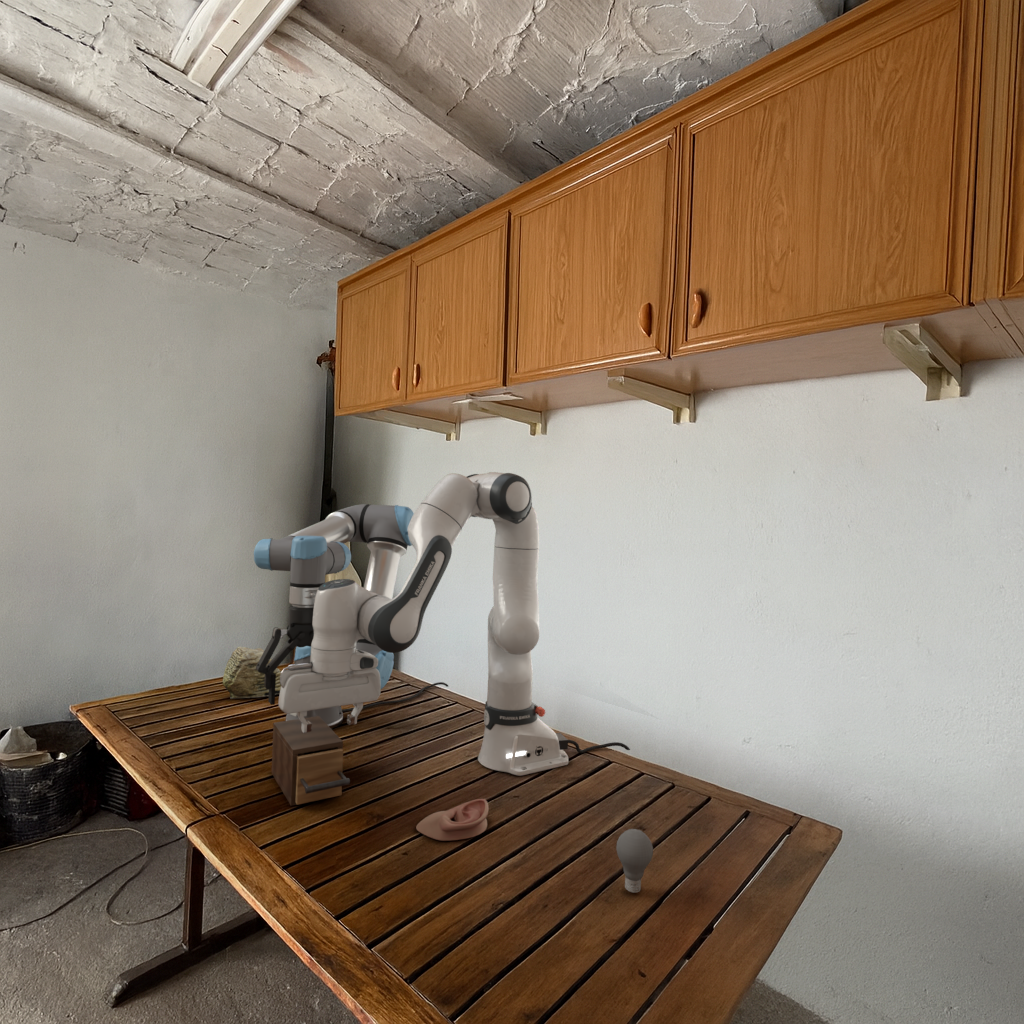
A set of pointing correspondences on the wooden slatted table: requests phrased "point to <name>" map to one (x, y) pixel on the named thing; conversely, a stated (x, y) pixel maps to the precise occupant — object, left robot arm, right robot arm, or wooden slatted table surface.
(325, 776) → the drawer
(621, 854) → the light bulb
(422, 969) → the wooden slatted table surface
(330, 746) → the cabinet
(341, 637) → the right robot arm
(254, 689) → the fossil
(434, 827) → the anatomical model
